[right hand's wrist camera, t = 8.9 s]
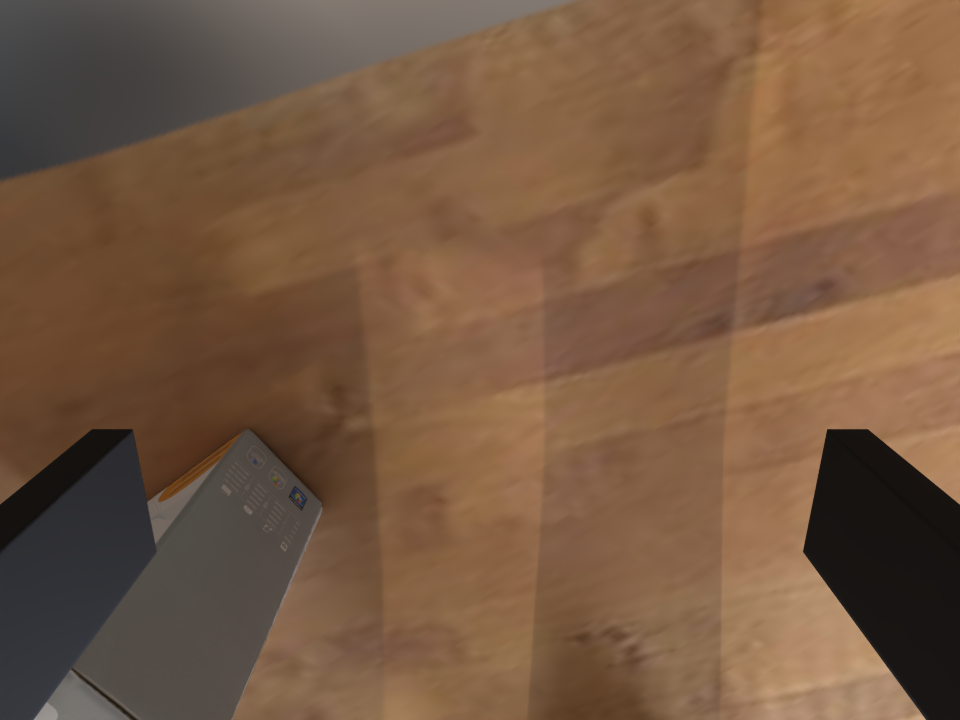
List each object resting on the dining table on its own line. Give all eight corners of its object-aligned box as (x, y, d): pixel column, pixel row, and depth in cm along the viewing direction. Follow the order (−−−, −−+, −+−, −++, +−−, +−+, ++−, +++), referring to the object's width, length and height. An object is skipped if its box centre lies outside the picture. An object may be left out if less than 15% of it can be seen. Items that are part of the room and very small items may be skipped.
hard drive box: (248, 421, 43) (70, 661, 24) (328, 504, 45) (220, 782, 26) (83, 544, 46) (-185, 839, 28) (165, 616, 48) (-33, 935, 30)
